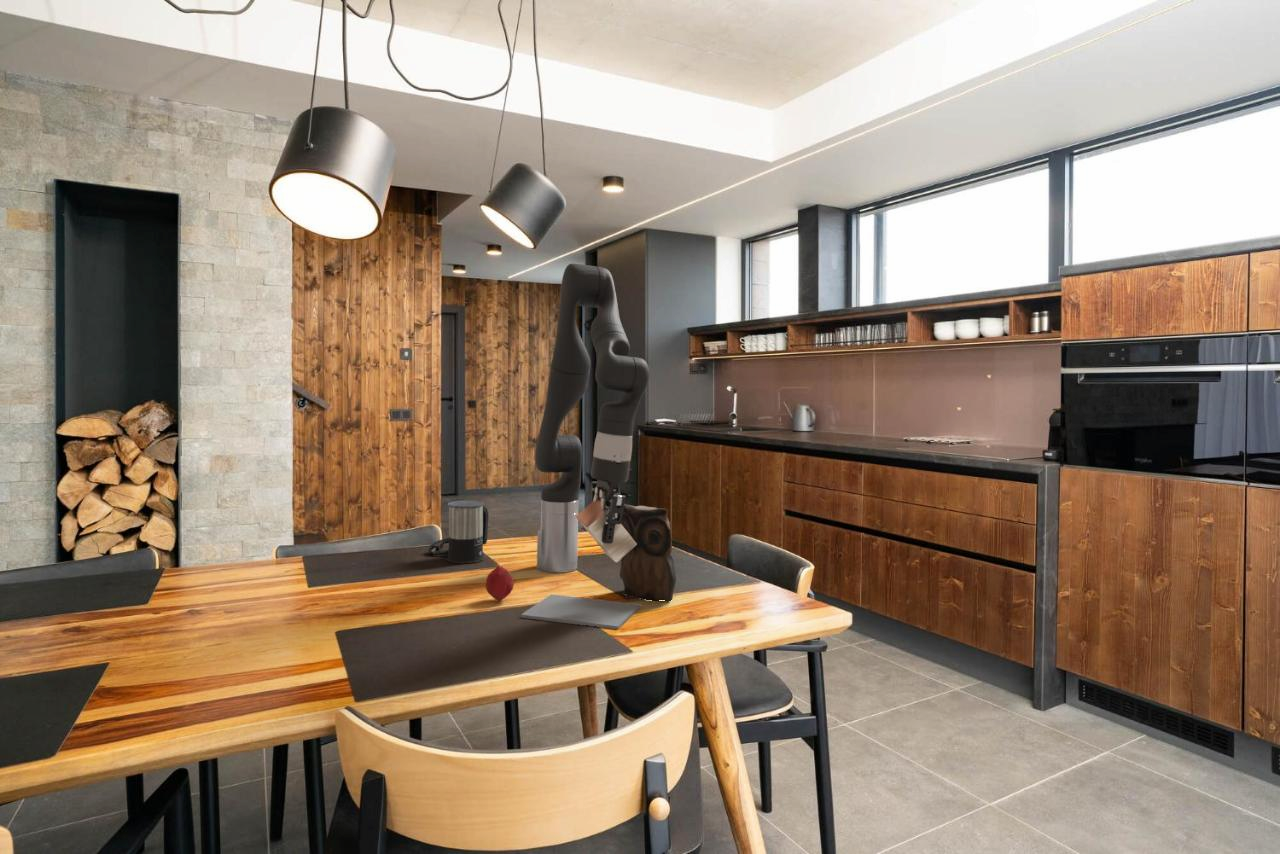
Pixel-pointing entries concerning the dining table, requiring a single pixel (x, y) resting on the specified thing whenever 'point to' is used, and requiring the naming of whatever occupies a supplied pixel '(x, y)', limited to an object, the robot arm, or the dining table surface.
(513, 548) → the dining table surface
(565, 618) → the mat
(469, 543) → the milk frother
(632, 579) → the owl
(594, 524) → the block
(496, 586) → the onion
